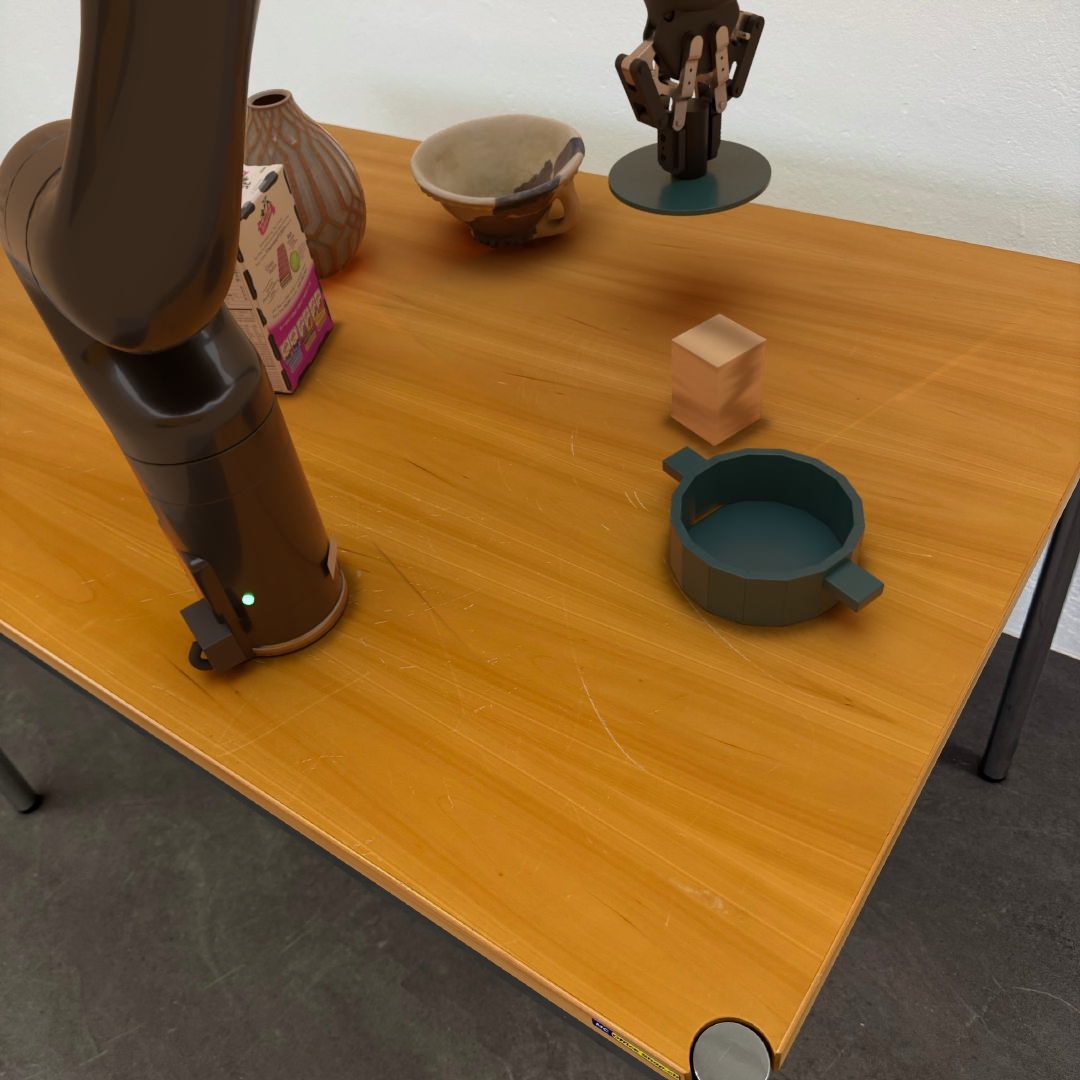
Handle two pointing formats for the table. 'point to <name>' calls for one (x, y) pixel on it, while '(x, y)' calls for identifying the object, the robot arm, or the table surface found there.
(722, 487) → the pot
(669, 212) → the lid
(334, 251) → the vase
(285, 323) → the candy bar box
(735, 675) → the table surface
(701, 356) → the block
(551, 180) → the bowl
